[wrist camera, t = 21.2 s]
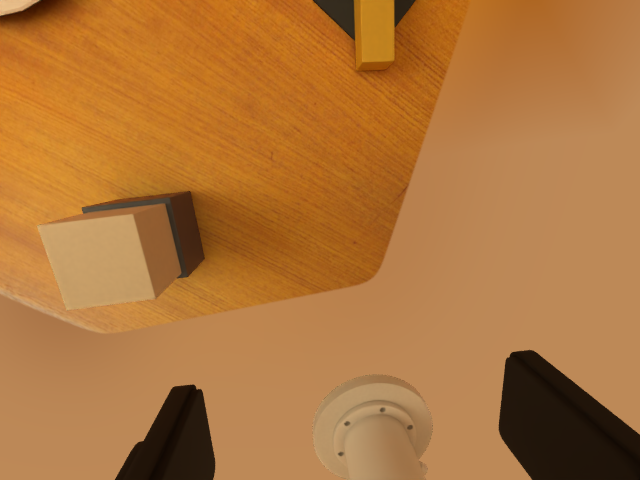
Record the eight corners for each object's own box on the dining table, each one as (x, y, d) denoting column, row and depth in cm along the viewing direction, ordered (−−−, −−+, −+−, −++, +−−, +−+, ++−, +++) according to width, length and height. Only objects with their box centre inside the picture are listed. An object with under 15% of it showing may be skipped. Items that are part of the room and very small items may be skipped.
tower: (190, 191, 35) (138, 206, 23) (204, 258, 37) (163, 303, 25) (117, 199, 34) (26, 219, 23) (136, 267, 36) (62, 317, 25)
